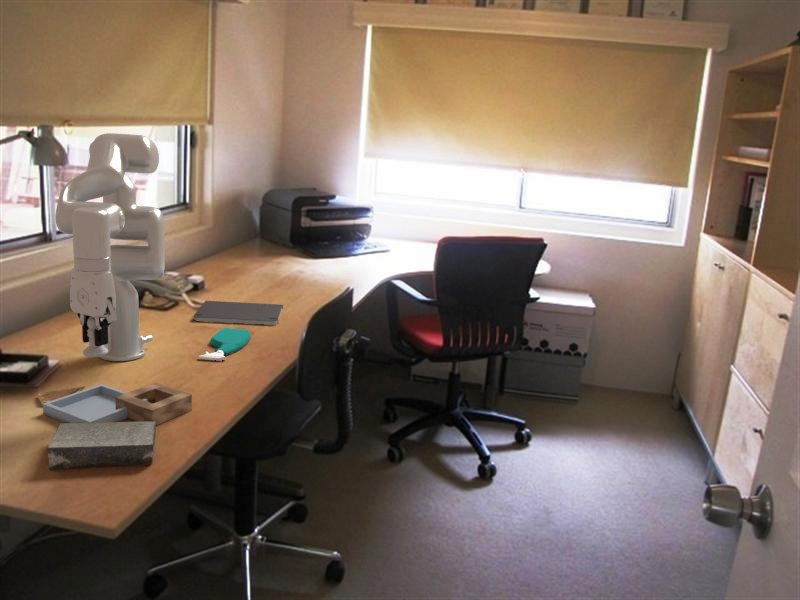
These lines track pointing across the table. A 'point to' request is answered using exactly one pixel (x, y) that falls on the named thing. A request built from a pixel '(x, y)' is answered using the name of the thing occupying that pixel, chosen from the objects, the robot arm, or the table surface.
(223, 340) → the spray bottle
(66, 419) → the tray
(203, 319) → the notebook
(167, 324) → the table surface
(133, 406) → the square wooden frame
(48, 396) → the shard
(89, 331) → the chess piece
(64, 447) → the stone block
